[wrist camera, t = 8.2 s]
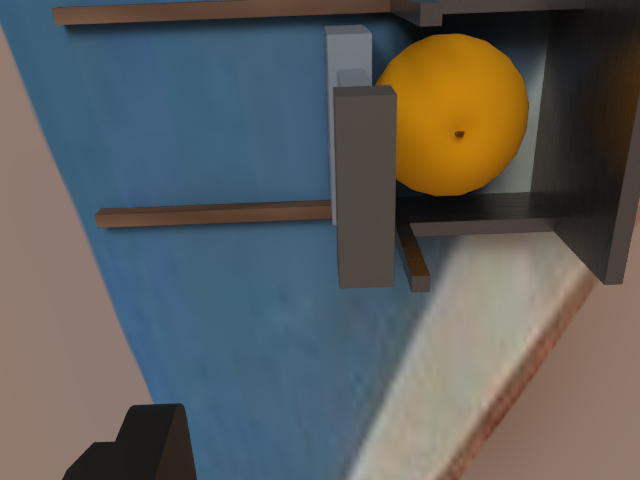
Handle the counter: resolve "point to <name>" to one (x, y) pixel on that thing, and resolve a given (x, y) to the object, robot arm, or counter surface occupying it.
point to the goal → (555, 141)
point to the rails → (241, 5)
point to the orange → (455, 113)
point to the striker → (360, 159)
